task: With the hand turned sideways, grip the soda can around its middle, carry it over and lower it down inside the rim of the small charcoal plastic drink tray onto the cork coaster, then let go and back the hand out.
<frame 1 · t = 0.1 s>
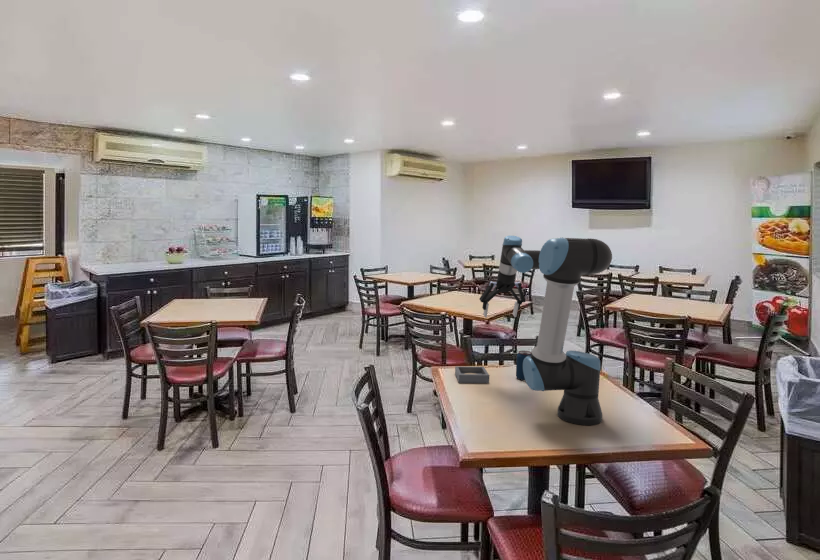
hand: (499, 315, 221), 28 cm above the table, tool tilted 20°, fingers open, 13 cm apart
drink tray: (471, 378, 221), on the table
soda can: (523, 379, 222), on the table
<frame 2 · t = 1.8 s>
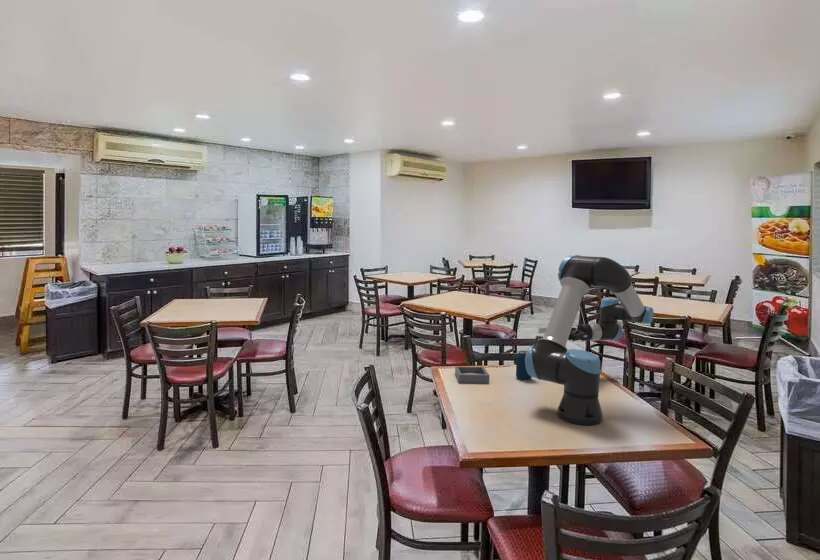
hand: (545, 333, 222), 20 cm above the table, tool horizontal, fingers open, 13 cm apart
nothing on the table moved.
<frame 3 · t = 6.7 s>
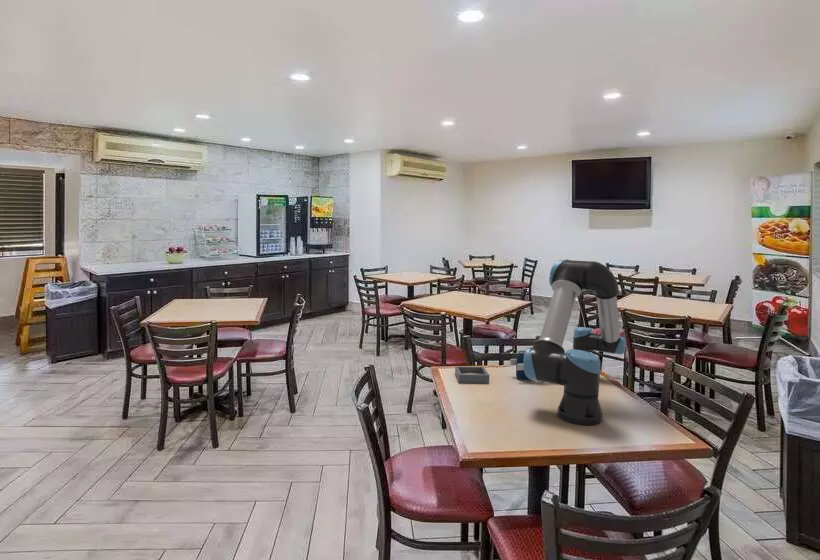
hand: (514, 364, 220), 7 cm above the table, tool horizontal, fingers closed on soda can, 7 cm apart
soda can: (523, 379, 222), on the table, touching gripper
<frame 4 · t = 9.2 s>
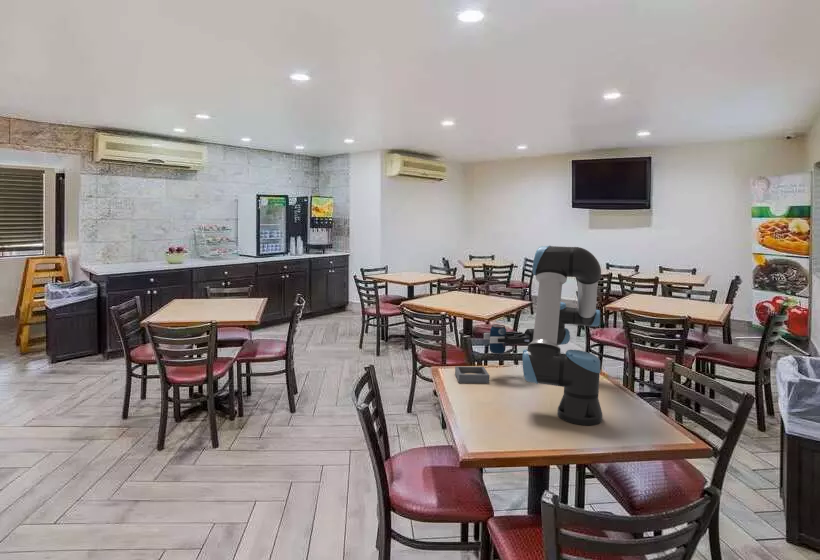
hand: (487, 338, 221), 18 cm above the table, tool horizontal, fingers closed on soda can, 7 cm apart
soda can: (497, 352, 222), point 11 cm above the table, touching gripper
when the fingers open (8 cm above the table, at t = 12.1 s): soda can stays where it is, resting on drink tray.
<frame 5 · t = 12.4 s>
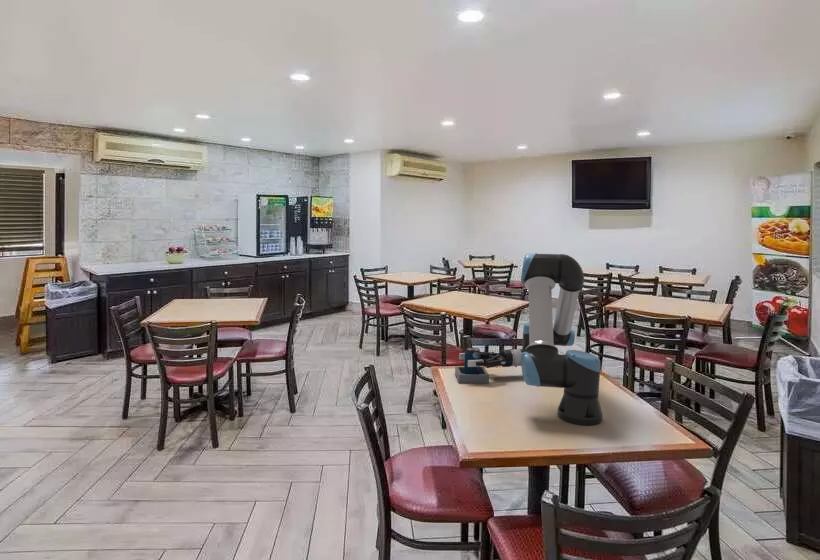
hand: (463, 359, 219), 8 cm above the table, tool horizontal, fingers open, 11 cm apart
soda can: (471, 376, 221), point 1 cm above the table, touching drink tray
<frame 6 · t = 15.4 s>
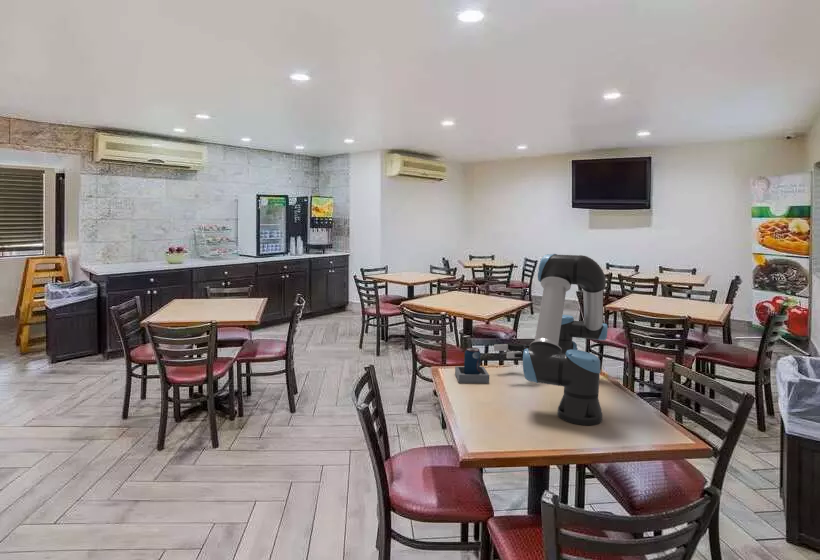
hand: (500, 351, 222), 12 cm above the table, tool horizontal, fingers open, 13 cm apart
nothing on the table moved.
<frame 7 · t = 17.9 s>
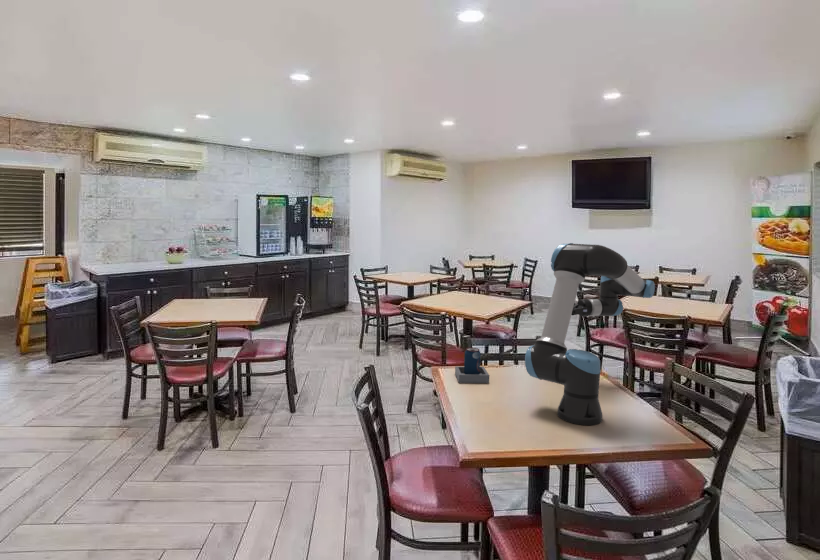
hand: (544, 308, 217), 32 cm above the table, tool horizontal, fingers open, 13 cm apart
nothing on the table moved.
at the end: soda can 0.0 cm from the drink tray (horizontally); soda can tilted 0°; soda can point 1.0 cm above the table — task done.
